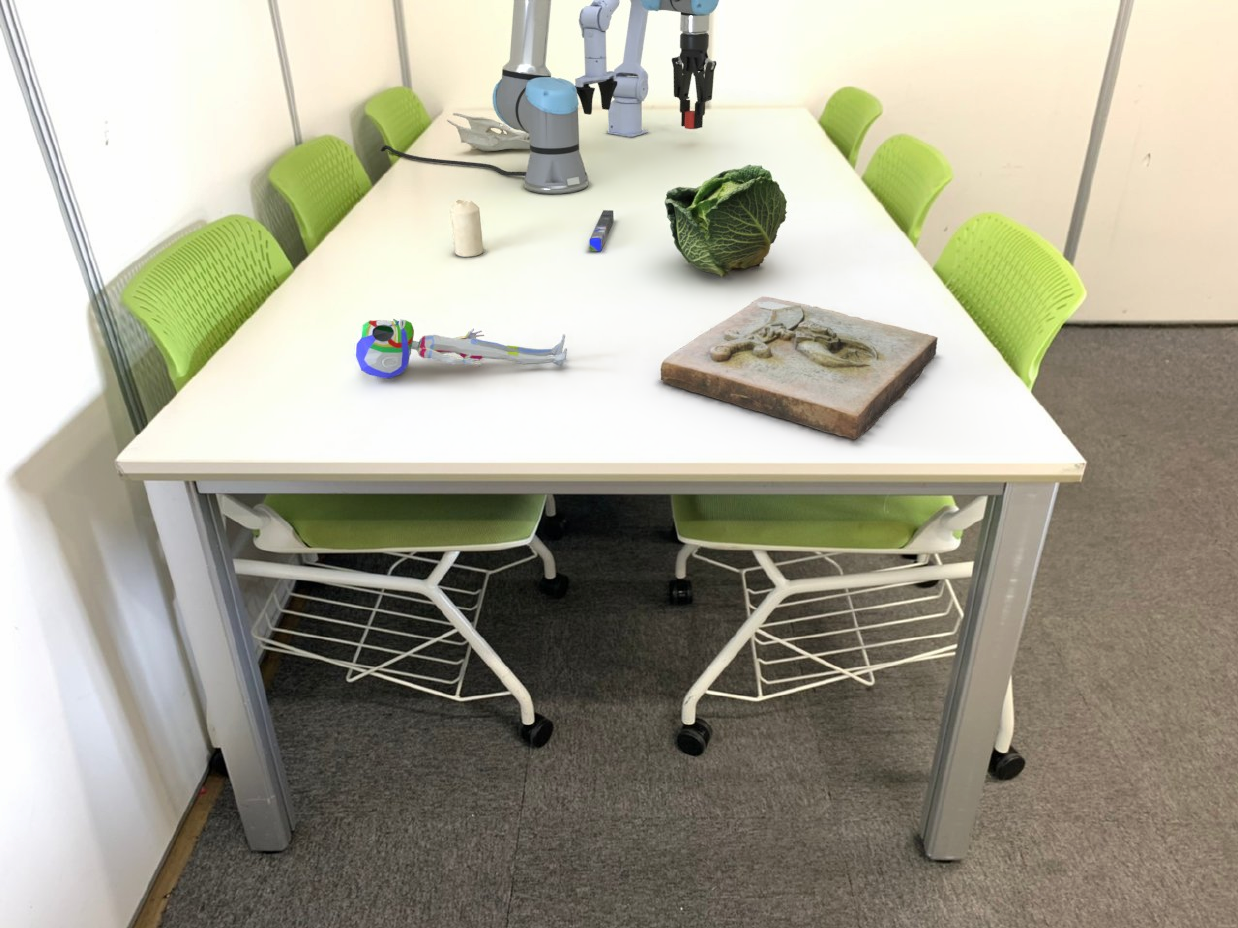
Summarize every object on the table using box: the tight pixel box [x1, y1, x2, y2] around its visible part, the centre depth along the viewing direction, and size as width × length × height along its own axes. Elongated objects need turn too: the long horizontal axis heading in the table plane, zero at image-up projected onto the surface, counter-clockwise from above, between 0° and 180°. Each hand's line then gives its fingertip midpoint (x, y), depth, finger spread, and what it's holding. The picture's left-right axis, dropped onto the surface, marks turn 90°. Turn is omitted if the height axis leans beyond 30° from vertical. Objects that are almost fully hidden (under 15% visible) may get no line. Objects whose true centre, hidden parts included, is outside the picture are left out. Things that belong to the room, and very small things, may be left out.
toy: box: [353, 318, 568, 379], centre depth 130 cm, size 10×8×30 cm
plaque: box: [660, 296, 939, 441], centre depth 128 cm, size 30×7×30 cm
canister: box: [684, 110, 695, 130], centre depth 244 cm, size 4×4×4 cm
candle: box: [449, 199, 484, 258], centre depth 172 cm, size 6×6×10 cm
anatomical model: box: [446, 112, 530, 152], centre depth 245 cm, size 15×9×25 cm
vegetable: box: [664, 164, 788, 278], centre depth 161 cm, size 20×19×20 cm
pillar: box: [588, 209, 615, 252], centre depth 182 cm, size 2×2×20 cm
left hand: (691, 126), depth 245 cm, fingers closed on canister, 4 cm apart
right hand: (596, 111), depth 243 cm, fingers open, 7 cm apart
